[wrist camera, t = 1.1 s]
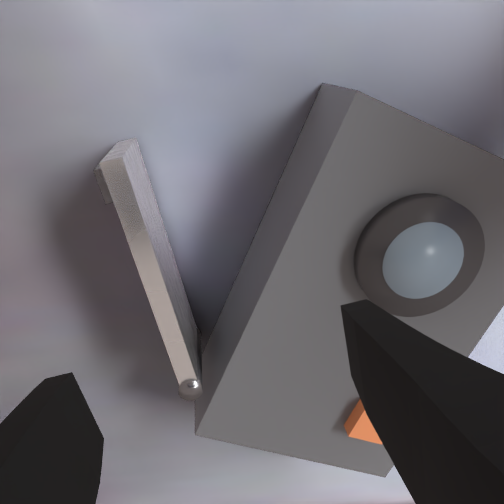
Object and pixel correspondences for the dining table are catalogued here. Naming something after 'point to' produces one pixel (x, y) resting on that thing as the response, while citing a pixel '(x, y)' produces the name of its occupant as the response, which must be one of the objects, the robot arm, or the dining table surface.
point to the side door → (153, 260)
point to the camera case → (351, 276)
